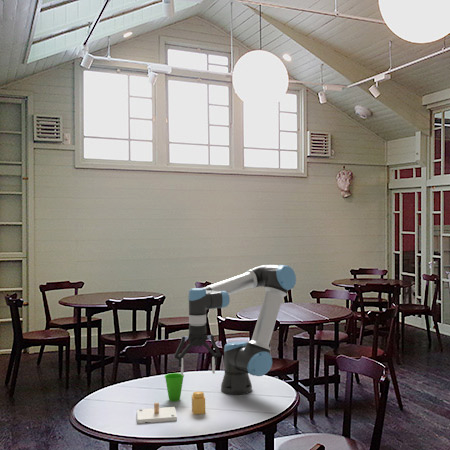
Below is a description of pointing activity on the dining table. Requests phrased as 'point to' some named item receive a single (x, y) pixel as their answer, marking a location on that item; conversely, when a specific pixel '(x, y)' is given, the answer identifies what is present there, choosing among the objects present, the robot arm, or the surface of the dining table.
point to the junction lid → (156, 414)
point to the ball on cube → (198, 403)
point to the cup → (174, 385)
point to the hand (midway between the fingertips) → (197, 373)
